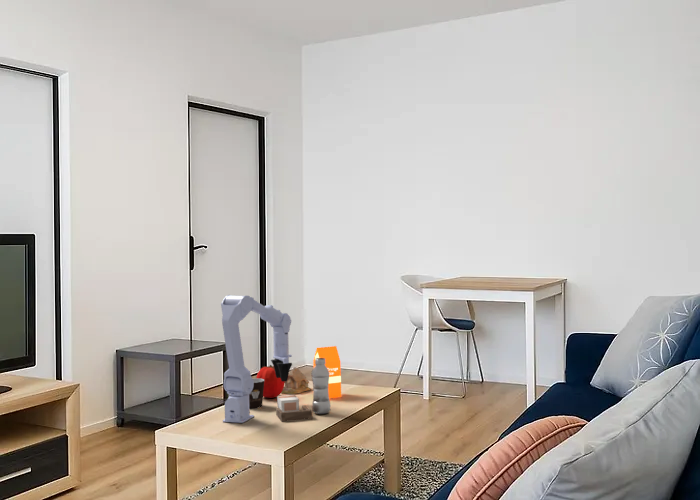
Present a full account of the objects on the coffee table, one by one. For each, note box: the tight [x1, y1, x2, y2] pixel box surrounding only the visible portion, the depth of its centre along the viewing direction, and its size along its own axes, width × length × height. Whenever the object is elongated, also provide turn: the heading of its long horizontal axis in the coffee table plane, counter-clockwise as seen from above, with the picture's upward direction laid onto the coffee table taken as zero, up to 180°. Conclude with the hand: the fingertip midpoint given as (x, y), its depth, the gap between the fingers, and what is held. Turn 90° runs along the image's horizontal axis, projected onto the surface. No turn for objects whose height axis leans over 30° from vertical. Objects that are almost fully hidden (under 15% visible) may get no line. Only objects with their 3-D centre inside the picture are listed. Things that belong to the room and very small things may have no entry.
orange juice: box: [312, 345, 342, 399], centre depth 290 cm, size 8×9×20 cm
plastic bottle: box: [310, 358, 331, 415], centre depth 262 cm, size 6×7×20 cm
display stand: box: [275, 405, 313, 422], centre depth 258 cm, size 10×11×3 cm
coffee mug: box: [249, 377, 264, 410], centre depth 275 cm, size 12×9×10 cm
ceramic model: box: [281, 366, 312, 395], centre depth 302 cm, size 14×11×10 cm
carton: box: [276, 394, 300, 412], centre depth 267 cm, size 8×6×5 cm
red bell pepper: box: [256, 364, 285, 399], centre depth 290 cm, size 12×12×13 cm
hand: (281, 379), depth 277 cm, fingers open, 7 cm apart
